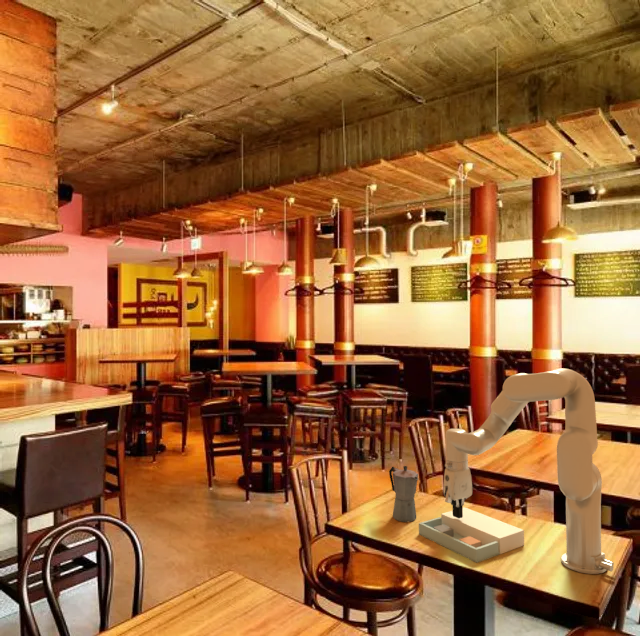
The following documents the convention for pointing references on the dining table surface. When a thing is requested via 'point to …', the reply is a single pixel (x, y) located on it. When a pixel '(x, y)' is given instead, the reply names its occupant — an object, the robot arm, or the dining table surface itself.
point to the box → (457, 542)
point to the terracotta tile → (471, 541)
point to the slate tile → (445, 530)
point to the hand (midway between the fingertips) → (457, 516)
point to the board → (485, 529)
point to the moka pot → (404, 493)
